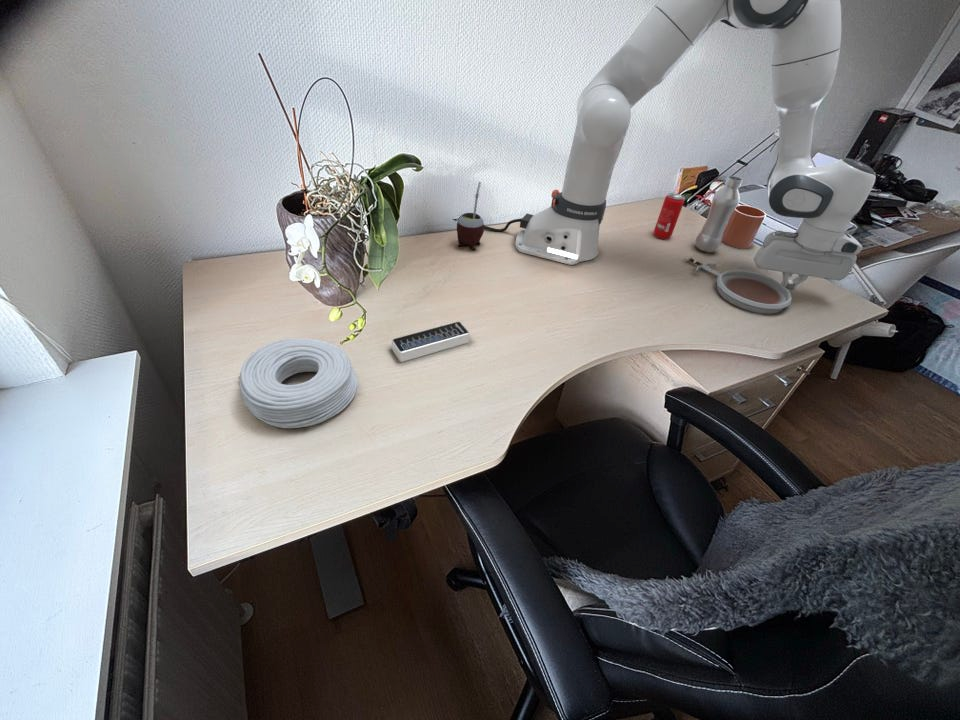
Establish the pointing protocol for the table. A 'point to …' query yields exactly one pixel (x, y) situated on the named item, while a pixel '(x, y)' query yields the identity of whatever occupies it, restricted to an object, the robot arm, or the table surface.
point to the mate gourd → (470, 227)
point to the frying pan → (749, 289)
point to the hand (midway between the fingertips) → (786, 288)
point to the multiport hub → (430, 341)
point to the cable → (300, 400)
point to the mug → (743, 226)
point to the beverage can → (668, 215)
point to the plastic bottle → (719, 215)
